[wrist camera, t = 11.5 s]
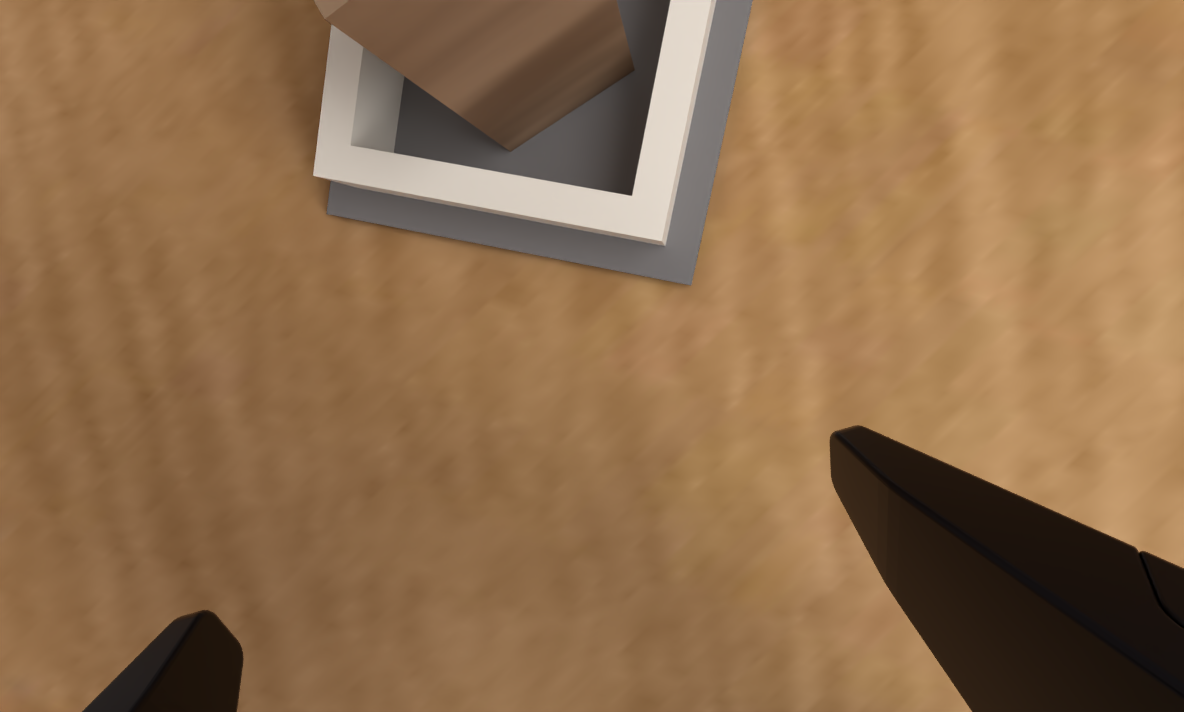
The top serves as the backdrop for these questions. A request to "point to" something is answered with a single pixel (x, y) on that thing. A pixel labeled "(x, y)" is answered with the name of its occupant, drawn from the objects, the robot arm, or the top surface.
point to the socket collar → (548, 150)
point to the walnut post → (495, 54)
